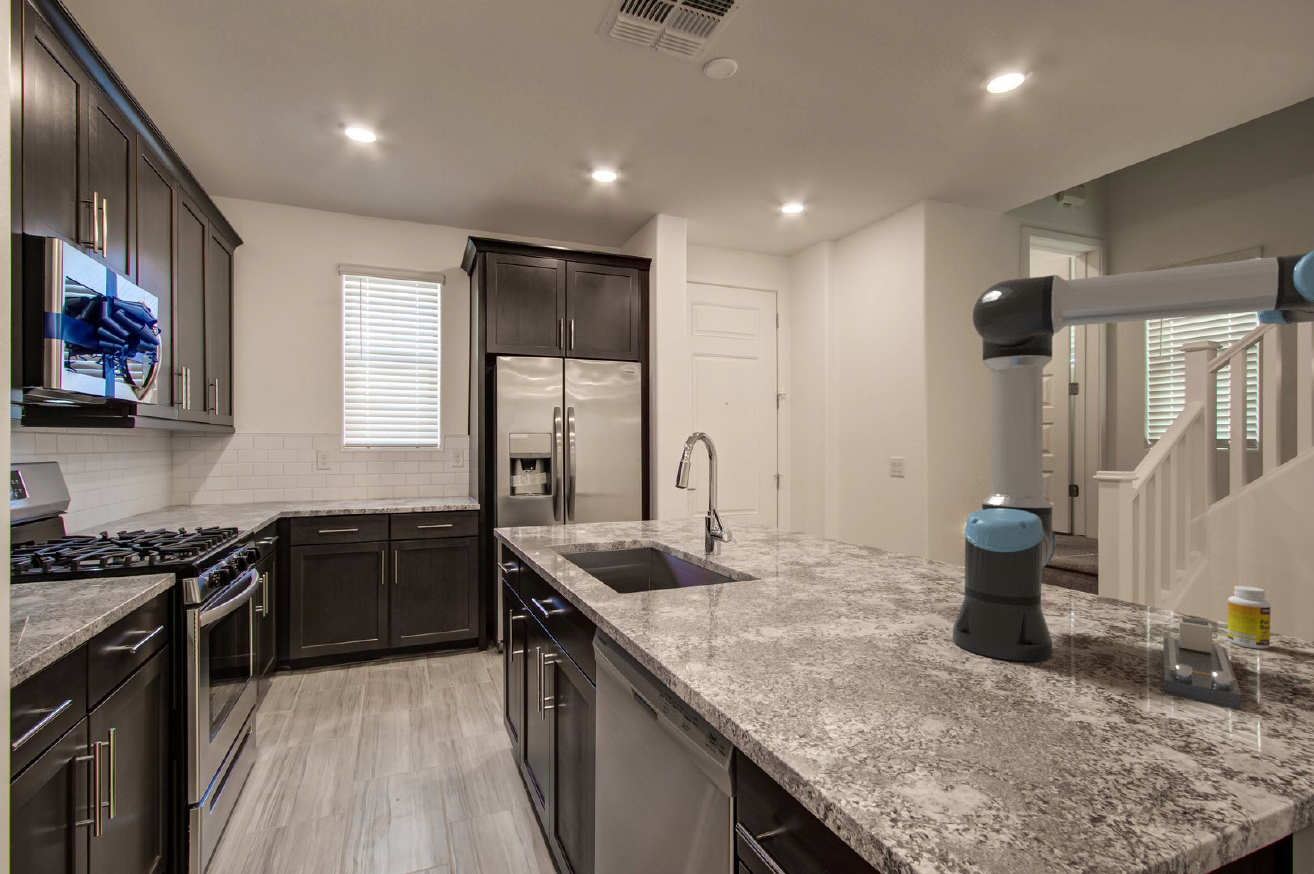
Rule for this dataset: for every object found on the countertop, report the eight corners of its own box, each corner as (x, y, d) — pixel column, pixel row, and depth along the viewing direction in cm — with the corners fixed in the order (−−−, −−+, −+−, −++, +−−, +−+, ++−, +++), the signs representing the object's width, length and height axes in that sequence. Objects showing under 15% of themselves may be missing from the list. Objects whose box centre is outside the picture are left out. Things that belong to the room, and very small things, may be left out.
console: (1164, 693, 89) (1165, 665, 89) (1163, 648, 109) (1163, 625, 109) (1241, 709, 84) (1241, 679, 84) (1224, 659, 104) (1225, 635, 104)
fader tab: (1179, 647, 103) (1179, 619, 103) (1178, 642, 105) (1179, 615, 105) (1211, 652, 100) (1212, 624, 100) (1210, 648, 103) (1211, 620, 103)
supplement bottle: (1264, 651, 109) (1265, 593, 109) (1222, 642, 113) (1223, 586, 113) (1273, 646, 112) (1274, 589, 112) (1232, 638, 116) (1233, 583, 117)
